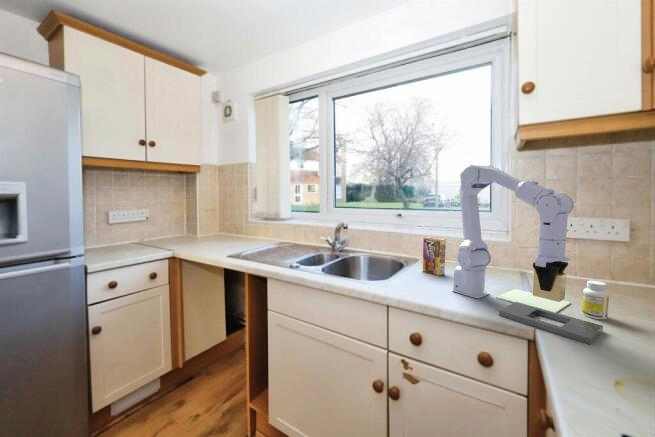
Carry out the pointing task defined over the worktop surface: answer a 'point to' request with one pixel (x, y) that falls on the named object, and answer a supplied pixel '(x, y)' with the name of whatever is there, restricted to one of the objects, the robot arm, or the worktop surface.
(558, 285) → the tan rectangular block
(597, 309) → the supplement bottle
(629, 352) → the worktop surface
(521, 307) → the iron frame
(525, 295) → the sage mat
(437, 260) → the candy box
